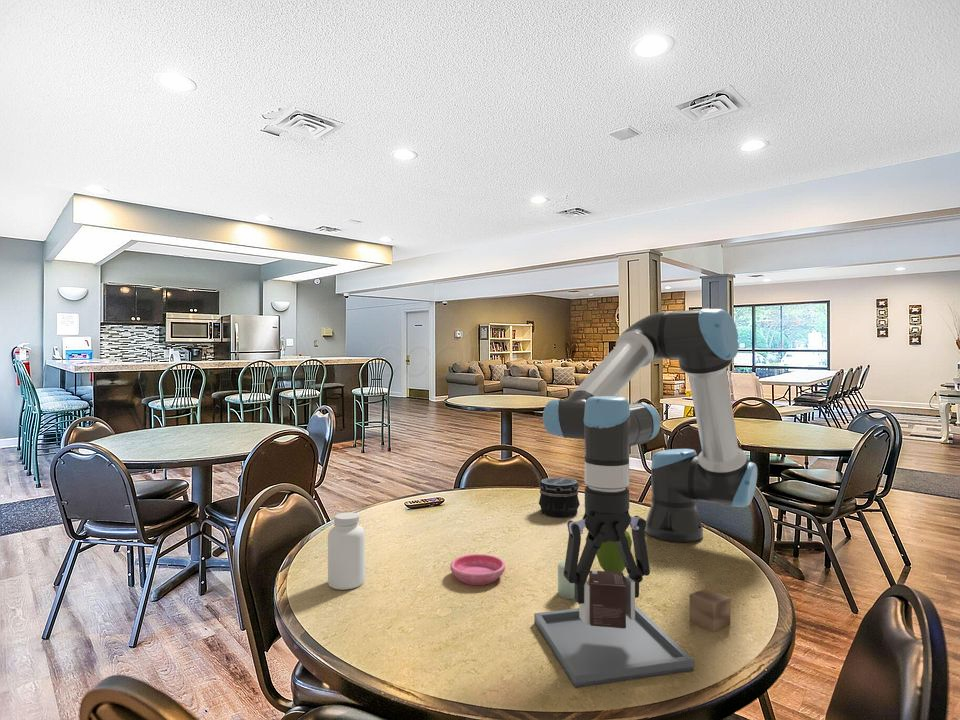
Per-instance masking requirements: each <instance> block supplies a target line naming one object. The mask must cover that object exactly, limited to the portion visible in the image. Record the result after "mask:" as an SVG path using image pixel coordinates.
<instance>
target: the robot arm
mask: <svg viewBox="0 0 960 720" xmlns="http://www.w3.org/2000/svg"><path fill="white" fill-rule="evenodd" d="M738 340H739V334H738V329H737V326H736V323H735V321H734V318H733V317H732V315H731V314H730V313H729V312H728V311H727V310H724V309H722V308H708V307H707V308H702V309H688V310H672V311H671V310H670V311H669V310H666V311H658V312H655V313H652V314H648V316H644V317H643V318H641V319H639V320H638V321H636V322H635V323H633V324H632V325H631V326H629V327H627V328H626V329H625V330H624V331H623V332H622V333H621V334H620V335H619V336H618V338H617V339H616V342H615V347H614V348H613V349H612V350H611V351H610V352H609V353H608V354H607V355H606V356H605V357H604V358H603V359H602V360H601V361H600V363H599V364H598V365H596V367H595V368H594V369H593V370H592V371H591V372H589V375H587V377H585V379H584V380H583V381H582V382H581V383H580V384H579V385H578V386H577V387H576V388H575V389H574V390H573V391H572V393H571V394H569V396H567V398H566V399H563V398H559V399H552V400H549V401H548V402H547V403H546V405H545V406H544V409H543V412H542V423H543V426H544V429H545V431H546V432H547V433H548V434H550V435H552V436H556V437H562V438H565V439H577V440H578V439H579V440H584V484H585V485H586V486H585V488H584V514H583V516H582V518H581V519H580V520H576V521H573V520H571V519H570V520H569V521H567V524H566V525H567V529H568V539H567V546H566V547H567V548H566V552H565V554H566V555H565V560H564V561H565V567H564V577H565V578H566V579H567V580H568V581H569V582H570V583H574V591H575V592H574V595H575V599H574V601H576V602H577V604H578V606H579V607H578V608H579V618H580V619H581V620H582V621H583V622H584V624H585V625H590V586H589V584H588V583H587V579H588V578H589V572H590V571H591V569H592V566H593V564H594V561H595V558H596V557H597V555H596V553H597V550H598V549H599V548H600V547H601V544H602V543H604V542H608V541H613V542H616V545H617V547H618V550H619V552H620V555H621V557H622V560H623V562H624V565H625V570H626V572H627V574H628V575H624V579H625V584H626V615H627V616H628V617H629V618H630V619H631V620H633V619H635V605H636V598H637V599H638V598H639V596H640V583H641V582H642V581H643V577H644V576H646V577H647V576H648V577H649V575H650V573H651V570H650V569H651V568H650V563H649V556H648V555H649V554H648V549H647V548H648V547H647V540H646V534H647V535H648V536H651V537H652V538H655V539H659V540H663V541H668V542H673V543H674V542H675V543H676V542H677V543H689V542H697V541H699V540H702V539H703V538H704V537H703V536H704V528H703V525H702V522H701V518H700V516H699V511H698V509H697V501H701V502H707V503H711V504H712V503H713V504H717V505H723V506H728V507H731V508H732V507H737V508H747V507H749V505H751V502H752V500H753V498H754V495H755V492H756V487H757V482H758V481H757V480H758V466H757V464H756V463H755V462H752V461H748V457H747V454H746V453H745V451H744V450H743V449H742V448H739V444H738V443H739V442H738V437H737V436H738V435H737V431H736V425H735V424H736V423H735V418H734V416H735V415H734V412H733V411H734V410H733V405H732V399H731V398H732V397H731V391H730V385H729V379H728V372H727V369H728V368H729V367H730V366H731V364H732V361H733V359H735V357H736V356H737V355H738V351H739V341H738ZM655 360H678V365H679V368H680V370H681V371H682V373H683V372H684V373H685V374H687V375H688V381H689V386H690V392H691V397H692V402H693V403H692V404H693V410H694V413H695V414H694V415H695V420H696V425H697V430H698V435H699V436H698V437H699V441H700V446H701V452H700V453H699V454H698V455H697V452H696V450H695V449H691V448H675V449H674V448H672V449H670V448H669V449H666V450H665V449H663V450H659V451H656V452H655V453H653V454H652V456H651V467H650V471H651V477H650V478H651V505H650V508H649V511H648V513H647V516H646V519H644V518H642V517H640V515H633V516H631V515H630V512H629V509H630V490H629V489H628V487H629V486H630V447H633V446H637V445H644V444H646V443H648V442H649V441H651V440H653V439H654V438H656V436H657V435H658V434H659V432H660V429H661V417H660V415H659V413H658V411H657V410H656V408H654V407H653V406H652V405H650V404H648V403H645V402H632V403H629V400H628V398H626V397H624V396H618V395H619V394H620V393H621V392H622V391H623V389H624V388H625V387H626V386H627V385H628V383H629V382H631V380H632V379H633V377H635V375H636V374H637V373H638V371H639V370H640V369H641V368H644V367H646V366H648V365H649V364H650V363H652V362H653V361H655ZM628 527H630V528H631V535H632V544H633V548H634V556H633V553H632V551H630V548H629V546H628V540H627V538H626V535H625V533H624V532H625V531H627V529H628ZM584 529H587V531H588V532H587V535H586V537H585V544H584V546H583V549H582V553H581V555H580V549H581V543H582V536H581V535H583V533H584ZM594 539H595V540H594ZM579 556H580V557H579ZM634 557H635V558H634Z"/></svg>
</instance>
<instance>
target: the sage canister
mask: <svg viewBox="0 0 960 720" xmlns="http://www.w3.org/2000/svg"><path fill="white" fill-rule="evenodd" d="M564 567H565V560H563V561H560V562H558V563H557V595H558V596H559V597H561V598H562V599H566V600H575V595H574V592H575V591H574V583H570V582H569V581H568V580H567V579H566V578H565V577H564Z"/></svg>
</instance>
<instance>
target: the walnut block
mask: <svg viewBox="0 0 960 720" xmlns="http://www.w3.org/2000/svg"><path fill="white" fill-rule="evenodd" d="M689 621H690V622H692V623H694V624H696V625H699V626H700V627H702V628H705V629H706V630H708V631H710V632H712V633H713V632H716V631H718V630H721V629H723V628H726V627H729V626H730V625H731V597H729V596H727V595H724V594H721V593H719V592H716V591H714V590H711V589H709V588H708V587H707V588H703V589H701V590H698V591H695V592H692V593H690V594H689Z"/></svg>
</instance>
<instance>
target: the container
mask: <svg viewBox="0 0 960 720" xmlns="http://www.w3.org/2000/svg"><path fill="white" fill-rule="evenodd" d="M538 487H539V488H540V489H539V493H540V497H539V501H538V504H539V506H540V510H541V511H540V512H541V513H542V514H544V515H545V516H547V517H553V518H567V517H568V518H569V517H573V516H576V515H577V514H578V509H579V507H580V506H581V505H580V500H579V487H580V484H579V483H578V481H577V480H576V479H573V478H569V477H548V478H543V479H542V480H541V481H540V483H538Z"/></svg>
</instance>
